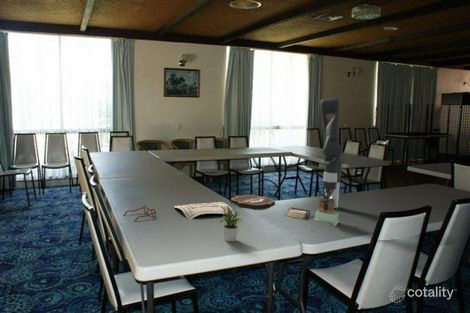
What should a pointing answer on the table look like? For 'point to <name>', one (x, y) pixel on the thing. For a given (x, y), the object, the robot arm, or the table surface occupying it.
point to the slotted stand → (327, 217)
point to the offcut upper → (297, 212)
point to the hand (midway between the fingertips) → (327, 208)
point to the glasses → (144, 211)
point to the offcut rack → (308, 212)
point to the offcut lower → (296, 216)
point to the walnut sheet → (330, 206)
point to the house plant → (230, 225)
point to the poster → (203, 209)
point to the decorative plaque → (253, 201)
